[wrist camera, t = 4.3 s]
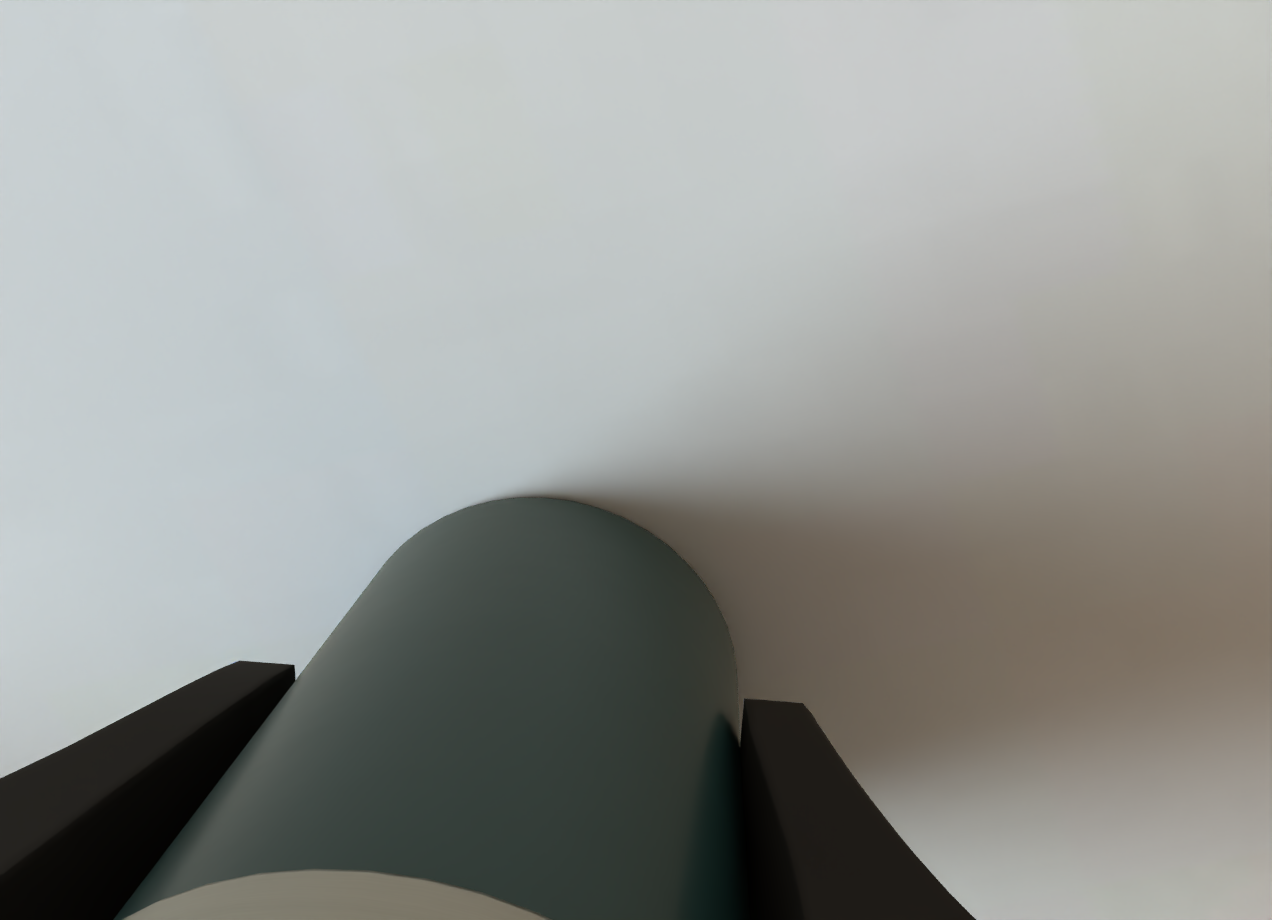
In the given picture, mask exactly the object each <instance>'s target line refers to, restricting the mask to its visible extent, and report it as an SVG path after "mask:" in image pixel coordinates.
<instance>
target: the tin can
mask: <svg viewBox="0 0 1272 920" xmlns="http://www.w3.org/2000/svg"><path fill="white" fill-rule="evenodd" d="M113 920H750V915H749V896H748V877H747V858H746V839H745V825H744V814H743V797H742V778H741V758H740V724H739V705H738V686H737V670H736V663H735V656H734V649H733V645H732V642H731V638H730V635H729V631H728V628H727V625H726V623H725V621H724V619H723V616H722V614H721V612H720V610H719V607H718V605H717V603H716V602H715V600H714V599H713V597H712V595H711V594H710V592H709V591H708V589H707V587H706V586H705V584H704V583H703V582H702V580H701V579H700V578H699V577H698V576H697V574H696V573H695V572H694V571H693V570H692V568H691V567H690V566H689V565H688V564H687V563H686V562H685V561H684V560H683V559H682V558H681V557H680V556H679V555H678V554H677V553H676V552H675V551H673V550H672V549H671V548H670V547H669V546H668V545H667V544H665V543H664V542H662V541H661V540H659V539H658V538H657V537H655V536H654V535H652V534H651V533H650V532H648V531H647V530H645V529H643V528H641V527H639V526H638V525H636V524H634V523H632V522H630V521H628V520H626V519H625V518H623V517H620V516H617V515H615V514H612V513H610V512H607V511H605V510H602V509H599V508H596V507H592V506H588V505H585V504H581V503H577V502H573V501H566V500H558V499H550V498H513V499H505V500H497V501H490V502H487V503H483V504H479V505H475V506H471V507H467V508H465V509H462V510H460V511H457V512H455V513H452V514H450V515H447V516H445V517H443V518H441V519H439V520H438V521H436V522H434V523H432V524H430V525H429V526H427V527H425V528H423V529H422V530H421V531H419V532H418V533H417V534H415V535H414V536H413V537H412V538H410V539H409V540H408V541H406V542H405V543H404V544H403V545H402V546H401V547H400V548H399V549H398V550H397V551H396V552H395V553H394V554H393V555H392V556H391V557H390V558H389V559H388V560H387V561H386V563H385V564H384V565H383V567H382V568H381V569H380V570H379V572H378V573H377V574H376V576H375V577H374V578H373V580H372V581H371V582H370V584H369V585H368V586H367V588H366V589H365V590H364V591H363V593H362V594H361V595H360V597H359V598H358V599H357V601H356V602H355V603H354V605H353V606H352V607H351V609H350V610H349V611H348V612H347V614H346V615H345V616H344V618H343V619H342V620H341V622H340V623H339V624H338V626H337V627H336V628H335V630H334V631H333V632H332V633H331V635H330V636H329V637H328V639H327V640H326V641H325V643H324V644H323V645H322V647H321V648H320V649H319V650H318V652H317V653H316V654H315V656H314V657H313V658H312V660H311V661H310V662H309V664H308V665H307V666H306V668H305V669H304V670H303V671H302V673H301V674H300V675H299V677H298V678H297V679H296V681H295V682H294V683H293V685H292V686H291V687H290V689H289V690H288V691H287V692H286V694H285V695H284V696H283V698H282V699H281V700H280V702H279V703H278V704H277V706H276V707H275V708H274V710H273V711H272V712H271V713H270V715H269V716H268V717H267V719H266V720H265V721H264V723H263V724H262V725H261V727H260V728H259V729H258V730H257V732H256V733H255V734H254V736H253V737H252V738H251V740H250V741H249V742H248V744H247V745H246V746H245V748H244V749H243V750H242V751H241V753H240V754H239V755H238V757H237V758H236V759H235V761H234V762H233V763H232V765H231V766H230V767H229V769H228V770H227V771H226V772H225V774H224V775H223V776H222V778H221V779H220V780H219V782H218V783H217V784H216V786H215V787H214V788H213V790H212V791H211V792H210V793H209V795H208V796H207V797H206V799H205V800H204V801H203V803H202V804H201V805H200V807H199V808H198V809H197V810H196V812H195V813H194V814H193V816H192V817H191V818H190V820H189V821H188V822H187V824H186V825H185V826H184V828H183V829H182V830H181V831H180V833H179V834H178V835H177V837H176V838H175V839H174V841H173V842H172V843H171V845H170V846H169V847H168V849H167V850H166V851H165V852H164V854H163V855H162V856H161V858H160V859H159V860H158V862H157V863H156V864H155V866H154V867H153V868H152V870H151V871H150V872H149V873H148V875H147V876H146V877H145V879H144V880H143V881H142V883H141V884H140V885H139V887H138V888H137V889H136V890H135V892H134V893H133V894H132V896H131V897H130V898H129V900H128V901H127V902H126V904H125V905H124V906H123V908H122V909H121V910H120V911H119V913H118V914H117V915H116V917H115V918H114V919H113Z"/></svg>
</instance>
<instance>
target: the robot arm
mask: <svg viewBox="0 0 1272 920" xmlns="http://www.w3.org/2000/svg"><path fill="white" fill-rule="evenodd" d="M294 682H295V667H294V665H289V664H275V663H262V662H249V661H238V662H235V663H233V664H230V665H228V666H225V667H223V668H221V669H219V670H216V671H214V672H212V673H210V674H208V675H206V676H204V677H202V678H200V679H198V680H196V681H194V682H192V683H190V684H188V685H186V686H184V687H182V688H180V689H178V690H176V691H174V692H172V693H170V694H168V695H166V696H164V697H162V698H160V699H159V700H157V701H155V702H153V703H151V704H149V705H147V706H145V707H143V708H141V709H139V710H137V711H135V712H134V713H132V714H130V715H128V716H126V717H124V718H122V719H120V720H118V721H116V722H114V723H112V724H110V725H108V726H106V727H105V728H103V729H101V730H99V731H97V732H95V733H93V734H91V735H89V736H87V737H85V738H83V739H81V740H79V741H78V742H76V743H74V744H72V745H70V746H68V747H66V748H64V749H62V750H59V751H57V752H55V753H53V754H51V755H49V756H47V757H45V758H43V759H41V760H38V761H36V762H34V763H32V764H30V765H28V766H26V767H24V768H22V769H20V770H17V771H15V772H13V773H11V774H9V775H7V776H5V777H3V778H1V779H0V920H113V919H114V918H115V917H116V915H117V914H118V913H119V911H120V910H121V909H122V908H123V906H124V905H125V904H126V902H127V901H128V900H129V898H130V897H131V896H132V894H133V893H134V892H135V890H136V889H137V888H138V887H139V885H140V884H141V883H142V881H143V880H144V879H145V877H146V876H147V875H148V873H149V872H150V871H151V870H152V868H153V867H154V866H155V864H156V863H157V862H158V860H159V859H160V858H161V856H162V855H163V854H164V852H165V851H166V850H167V849H168V847H169V846H170V845H171V843H172V842H173V841H174V839H175V838H176V837H177V835H178V834H179V833H180V831H181V830H182V829H183V828H184V826H185V825H186V824H187V822H188V821H189V820H190V818H191V817H192V816H193V814H194V813H195V812H196V810H197V809H198V808H199V807H200V805H201V804H202V803H203V801H204V800H205V799H206V797H207V796H208V795H209V793H210V792H211V791H212V790H213V788H214V787H215V786H216V784H217V783H218V782H219V780H220V779H221V778H222V776H223V775H224V774H225V772H226V771H227V770H228V769H229V767H230V766H231V765H232V763H233V762H234V761H235V759H236V758H237V757H238V755H239V754H240V753H241V751H242V750H243V749H244V748H245V746H246V745H247V744H248V742H249V741H250V740H251V738H252V737H253V736H254V734H255V733H256V732H257V730H258V729H259V728H260V727H261V725H262V724H263V723H264V721H265V720H266V719H267V717H268V716H269V715H270V713H271V712H272V711H273V710H274V708H275V707H276V706H277V704H278V703H279V702H280V700H281V699H282V698H283V696H284V695H285V694H286V692H287V691H288V690H289V689H290V687H291V686H292V685H293V683H294ZM740 758H741V778H742V797H743V814H744V825H745V839H746V858H747V877H748V896H749V915H750V920H976V919H975V918H974V917H973V916H972V915H971V914H970V913H969V912H968V911H967V910H966V909H965V908H964V907H963V906H962V905H961V904H960V903H959V902H958V901H957V900H956V899H955V898H954V897H953V896H952V895H951V894H950V893H949V892H948V891H947V890H946V889H945V888H944V886H943V885H942V884H941V883H940V882H939V881H938V880H937V879H936V878H935V876H934V875H933V874H932V873H931V872H930V871H929V870H928V869H927V867H926V866H925V865H924V864H923V863H922V862H921V861H920V860H919V858H918V857H917V856H916V855H915V854H914V853H913V851H912V850H911V849H910V848H909V847H908V845H907V844H906V843H905V842H904V841H903V839H902V838H901V837H900V836H899V835H898V833H897V832H896V831H895V830H894V828H893V827H892V826H891V824H890V823H889V822H888V821H887V819H886V818H885V817H884V816H883V814H882V813H881V812H880V810H879V809H878V808H877V807H876V805H875V804H874V803H873V801H872V800H871V799H870V798H869V796H868V795H867V794H866V792H865V791H864V790H863V788H862V787H861V786H860V784H859V783H858V782H857V780H856V779H855V777H854V776H853V775H852V773H851V772H850V770H849V769H848V768H847V766H846V765H845V763H844V762H843V760H842V759H841V758H840V756H839V755H838V753H837V752H836V750H835V749H834V747H833V746H832V744H831V743H830V741H829V740H828V738H827V737H826V735H825V734H824V732H823V731H822V729H821V728H820V726H819V725H818V723H817V721H816V720H815V718H814V717H813V715H812V714H811V713H810V711H809V710H808V709H807V708H806V707H805V705H804V704H803V703H795V702H781V701H768V700H755V699H744V708H743V719H742V731H741V742H740Z"/></svg>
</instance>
